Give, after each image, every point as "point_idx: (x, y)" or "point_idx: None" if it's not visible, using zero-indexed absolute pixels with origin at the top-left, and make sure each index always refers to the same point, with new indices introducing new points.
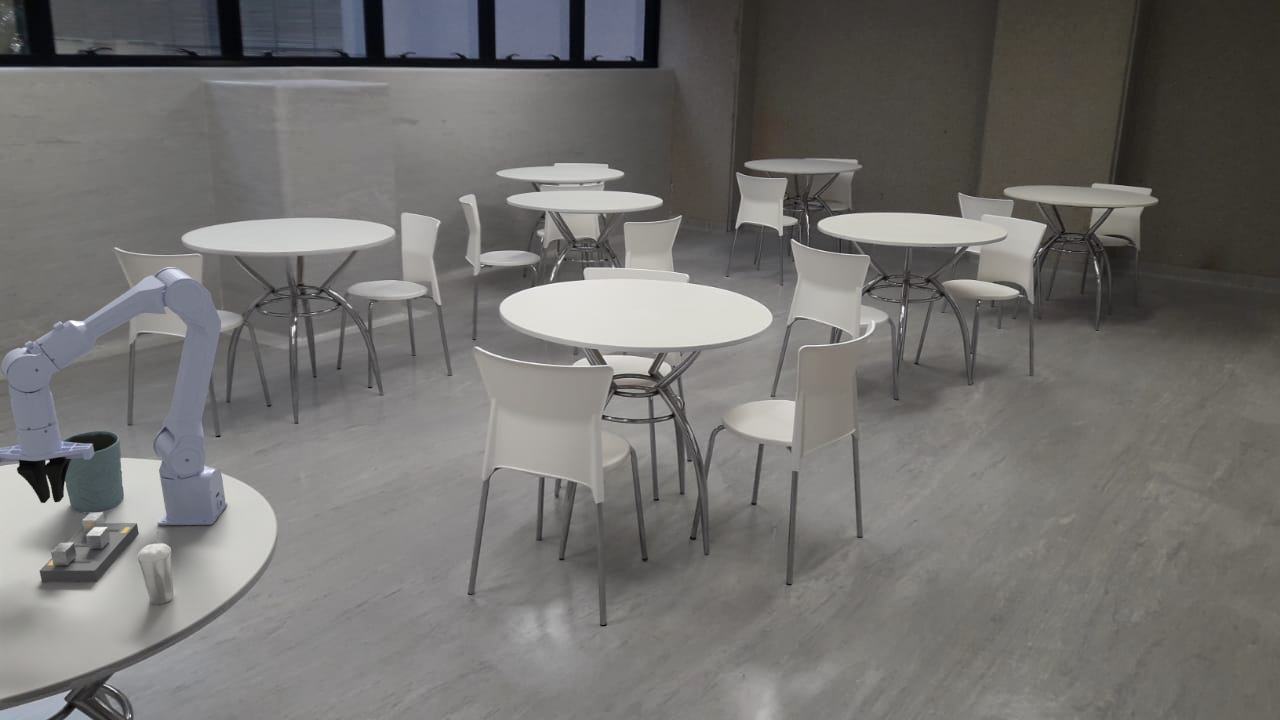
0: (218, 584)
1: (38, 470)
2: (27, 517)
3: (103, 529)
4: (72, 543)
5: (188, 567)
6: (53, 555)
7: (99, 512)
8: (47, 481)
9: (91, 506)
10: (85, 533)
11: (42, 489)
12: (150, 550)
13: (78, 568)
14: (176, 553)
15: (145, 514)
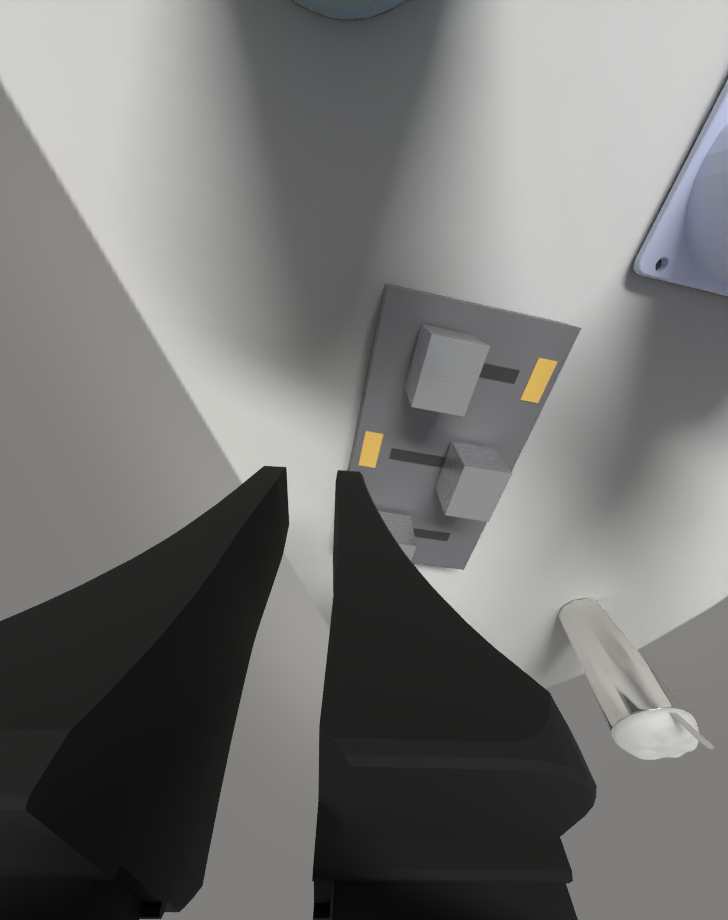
0: (688, 589)
1: (206, 751)
2: (36, 5)
3: (498, 488)
4: (412, 548)
5: (652, 528)
6: None
7: (472, 344)
8: (252, 514)
9: (355, 3)
10: (403, 376)
11: (266, 580)
12: (656, 758)
13: (424, 556)
14: (642, 465)
15: (599, 123)
